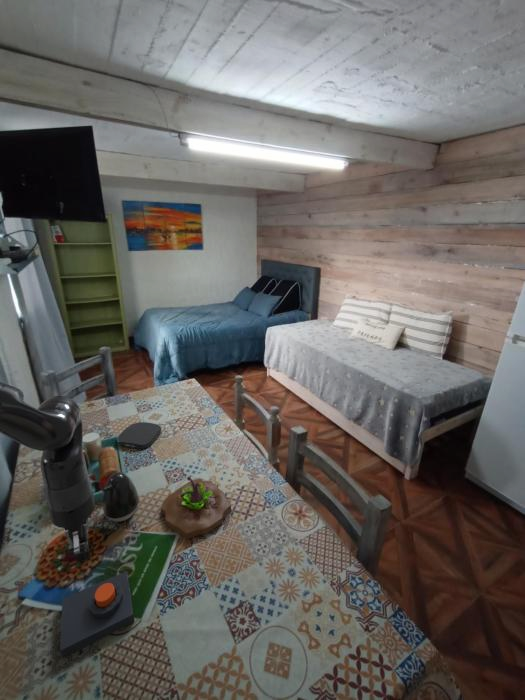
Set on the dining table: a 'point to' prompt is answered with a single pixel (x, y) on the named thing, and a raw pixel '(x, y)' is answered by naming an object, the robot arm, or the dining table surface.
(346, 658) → the dining table surface
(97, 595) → the lid button
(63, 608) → the push button box
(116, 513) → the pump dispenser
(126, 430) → the media streaming box
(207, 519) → the plant
